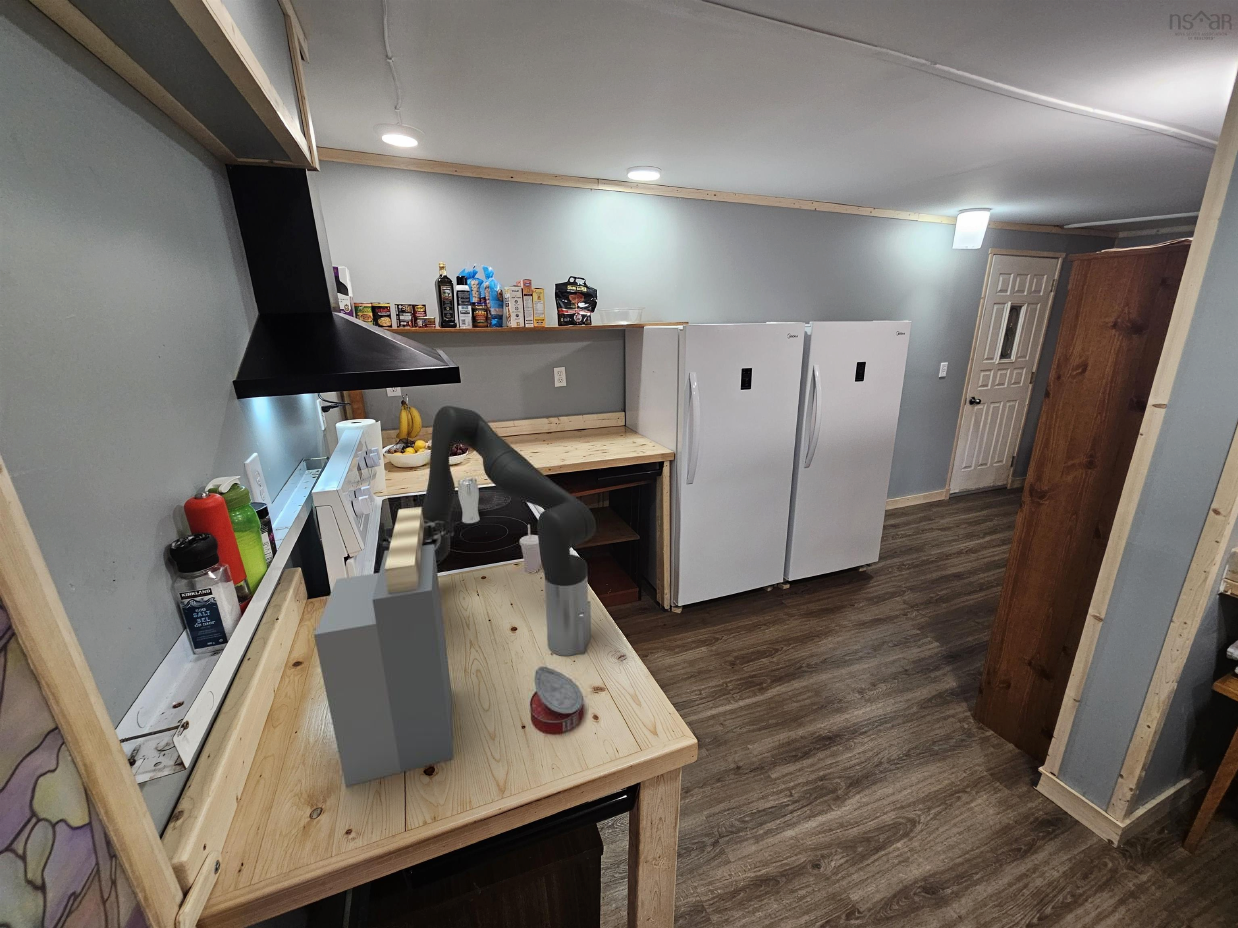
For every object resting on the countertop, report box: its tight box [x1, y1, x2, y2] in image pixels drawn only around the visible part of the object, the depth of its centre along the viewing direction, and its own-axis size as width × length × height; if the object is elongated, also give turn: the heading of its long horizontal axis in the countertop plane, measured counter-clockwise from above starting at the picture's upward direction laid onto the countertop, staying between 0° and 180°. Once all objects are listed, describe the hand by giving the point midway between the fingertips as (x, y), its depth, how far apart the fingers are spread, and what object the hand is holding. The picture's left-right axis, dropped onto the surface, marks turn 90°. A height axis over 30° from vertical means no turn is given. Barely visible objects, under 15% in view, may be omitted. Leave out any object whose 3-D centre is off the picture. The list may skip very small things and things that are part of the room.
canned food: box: [529, 666, 584, 736], centre depth 91 cm, size 11×10×10 cm
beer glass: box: [457, 477, 480, 524], centre depth 176 cm, size 7×7×15 cm
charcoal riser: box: [313, 544, 454, 788], centre depth 82 cm, size 16×16×32 cm
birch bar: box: [385, 506, 424, 594], centre depth 83 cm, size 24×4×4 cm, turn 19°
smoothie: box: [519, 524, 541, 573], centre depth 141 cm, size 6×6×14 cm
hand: (413, 528), depth 96 cm, fingers open, 8 cm apart
